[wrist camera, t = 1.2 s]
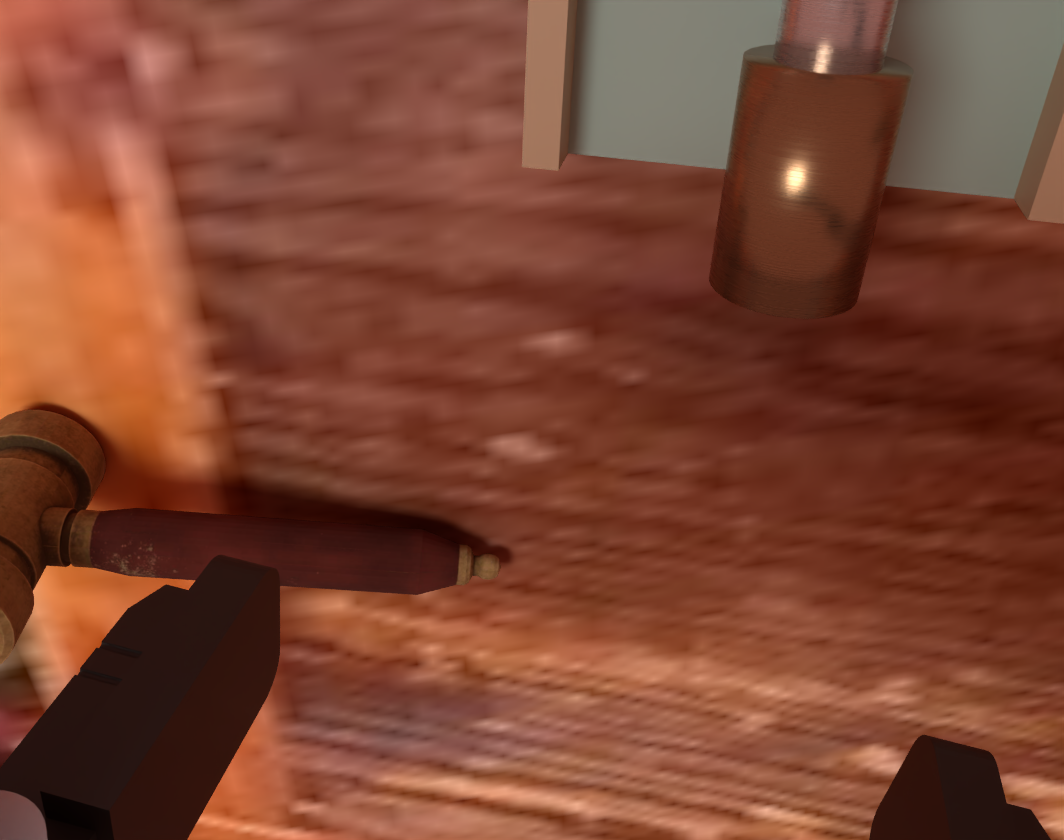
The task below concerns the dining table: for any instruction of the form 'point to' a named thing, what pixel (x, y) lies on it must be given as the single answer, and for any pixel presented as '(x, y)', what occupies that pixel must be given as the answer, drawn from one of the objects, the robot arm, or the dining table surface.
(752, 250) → the rod
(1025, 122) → the pitch board
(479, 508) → the dining table surface
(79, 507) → the gavel
